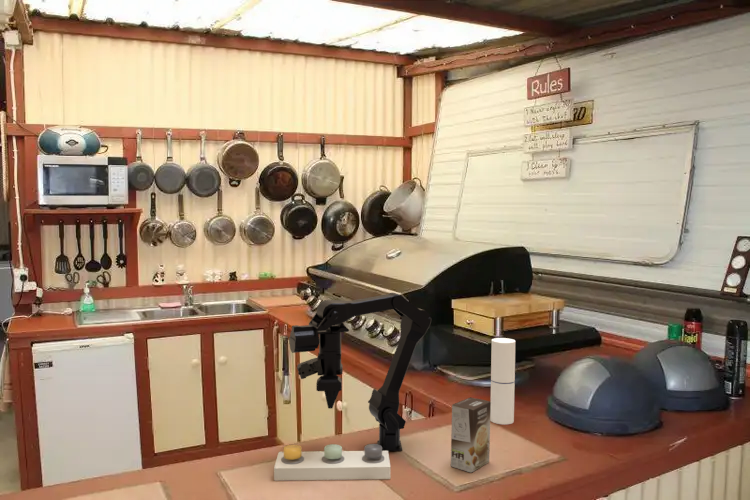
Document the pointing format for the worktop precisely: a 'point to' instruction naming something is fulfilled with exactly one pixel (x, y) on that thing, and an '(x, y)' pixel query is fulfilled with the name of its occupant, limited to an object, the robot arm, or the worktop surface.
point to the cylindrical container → (502, 380)
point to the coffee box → (470, 434)
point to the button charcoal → (373, 451)
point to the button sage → (332, 451)
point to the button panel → (332, 467)
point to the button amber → (292, 452)
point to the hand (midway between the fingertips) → (330, 408)
